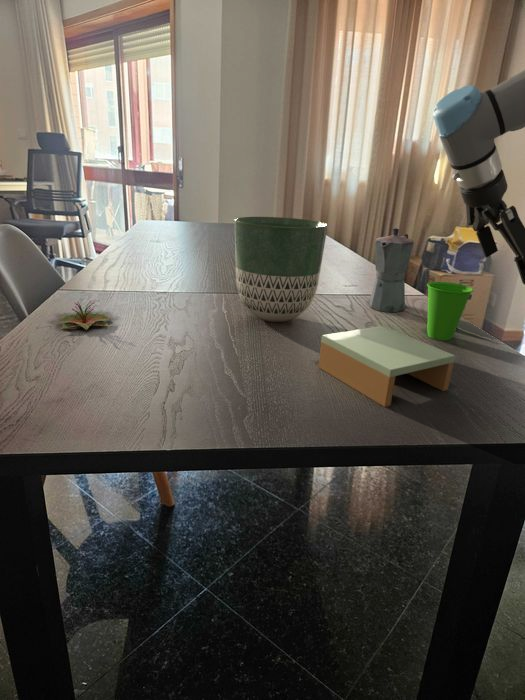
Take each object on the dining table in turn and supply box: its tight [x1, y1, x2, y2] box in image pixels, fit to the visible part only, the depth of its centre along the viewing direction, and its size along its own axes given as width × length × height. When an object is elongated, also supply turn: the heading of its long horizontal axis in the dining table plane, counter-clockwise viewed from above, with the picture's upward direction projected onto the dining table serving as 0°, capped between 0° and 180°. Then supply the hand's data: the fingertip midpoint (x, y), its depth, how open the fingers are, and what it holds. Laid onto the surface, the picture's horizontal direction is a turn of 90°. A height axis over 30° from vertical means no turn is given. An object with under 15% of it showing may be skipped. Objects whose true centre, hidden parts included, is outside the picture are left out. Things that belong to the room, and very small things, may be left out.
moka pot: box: [368, 228, 414, 313], centre depth 118 cm, size 10×15×20 cm, turn 145°
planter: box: [234, 216, 328, 323], centre depth 103 cm, size 20×20×21 cm
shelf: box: [318, 325, 456, 408], centre depth 77 cm, size 16×14×6 cm
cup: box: [426, 281, 474, 342], centre depth 99 cm, size 9×9×11 cm
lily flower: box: [53, 300, 115, 331], centre depth 95 cm, size 12×12×5 cm
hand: (509, 266), depth 96 cm, fingers open, 13 cm apart
